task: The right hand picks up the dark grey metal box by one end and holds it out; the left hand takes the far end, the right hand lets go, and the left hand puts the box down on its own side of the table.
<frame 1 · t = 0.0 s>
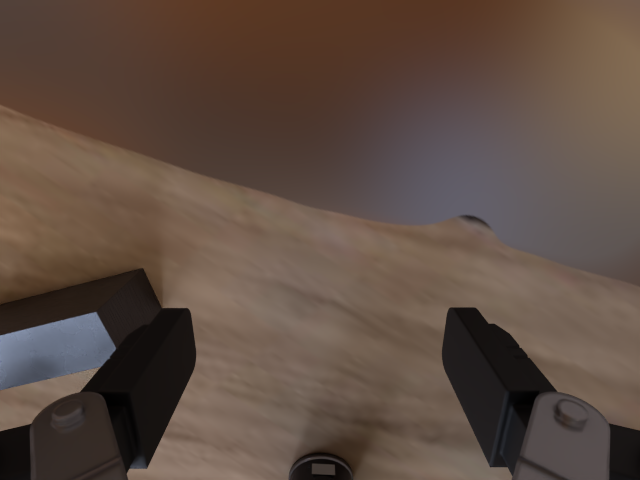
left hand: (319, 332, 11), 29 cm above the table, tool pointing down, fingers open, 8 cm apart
box: (70, 310, 45), on the table
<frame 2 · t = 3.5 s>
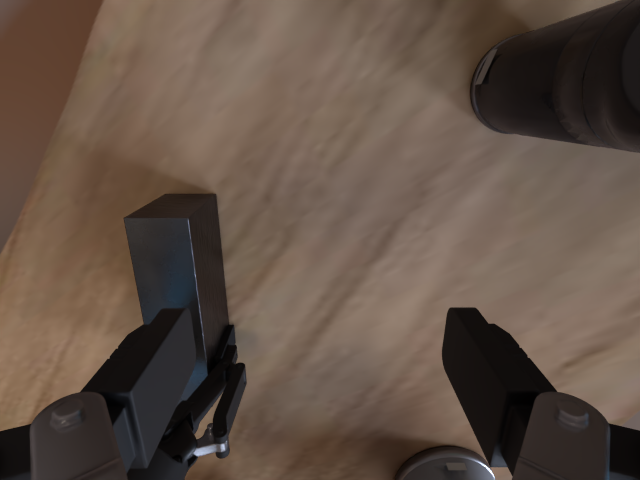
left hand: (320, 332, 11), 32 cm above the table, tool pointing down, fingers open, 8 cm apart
box: (201, 279, 46), on the table, touching right hand
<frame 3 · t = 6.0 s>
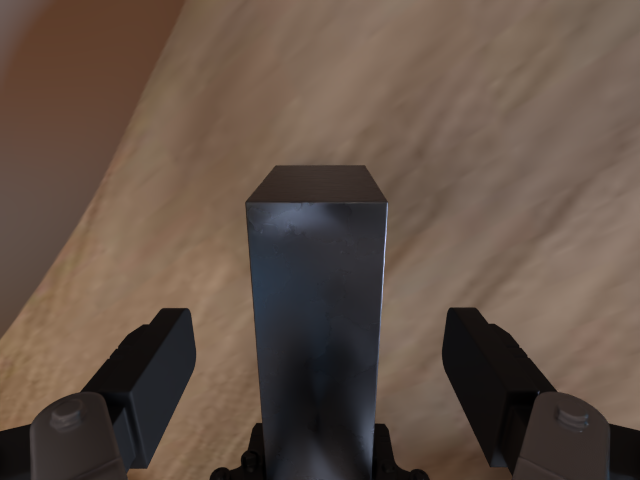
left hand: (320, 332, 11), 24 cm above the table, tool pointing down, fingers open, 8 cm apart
box: (320, 311, 28), point 10 cm above the table, touching right hand
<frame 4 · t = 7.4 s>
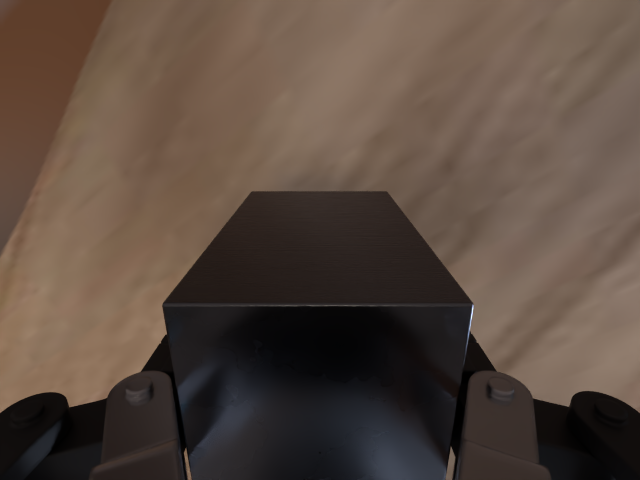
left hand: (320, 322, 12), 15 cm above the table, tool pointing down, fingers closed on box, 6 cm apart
box: (319, 393, 20), point 10 cm above the table, touching left hand, right hand
when the right hand's fingers open (10 cm above the table, at t = 8.5 s): box stays where it is, held by the left hand.
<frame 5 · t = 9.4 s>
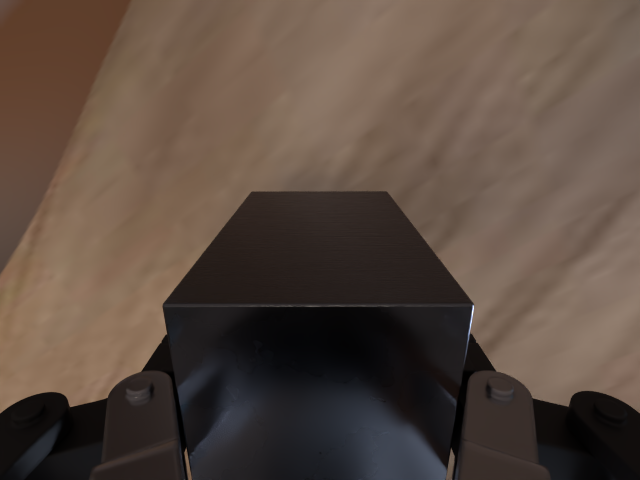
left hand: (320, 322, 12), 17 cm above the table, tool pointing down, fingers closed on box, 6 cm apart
box: (319, 393, 20), point 12 cm above the table, touching left hand
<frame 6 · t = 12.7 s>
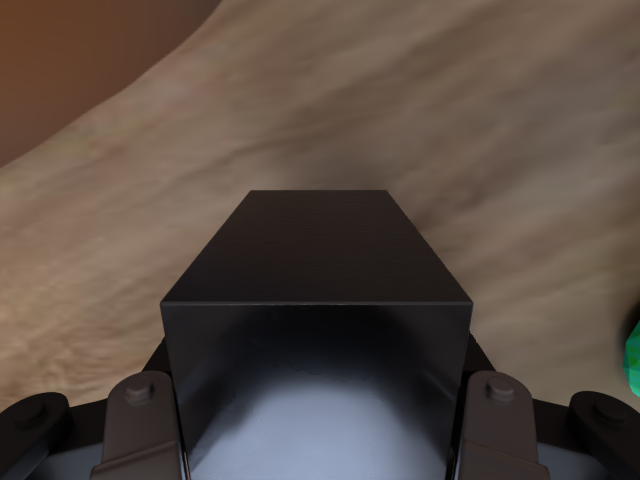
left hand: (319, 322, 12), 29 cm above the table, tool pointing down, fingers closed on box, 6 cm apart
box: (319, 393, 19), point 24 cm above the table, touching left hand
when the left hand's fingers open (6 cm above the table, at t = 17.8 s): box drops 1 cm, on the table.
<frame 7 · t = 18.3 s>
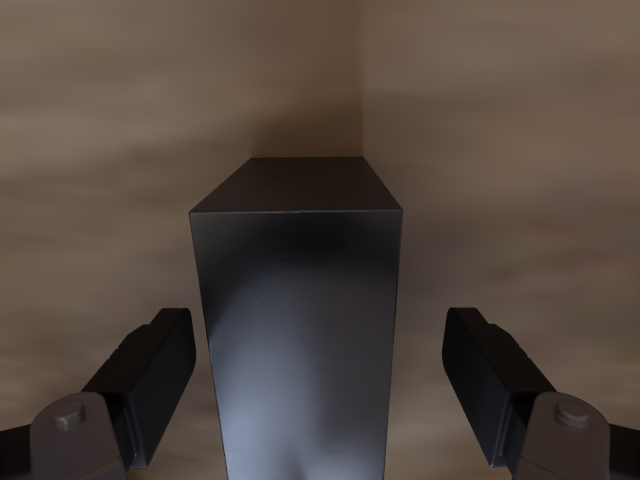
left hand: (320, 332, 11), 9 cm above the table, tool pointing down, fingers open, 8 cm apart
box: (311, 336, 23), on the table
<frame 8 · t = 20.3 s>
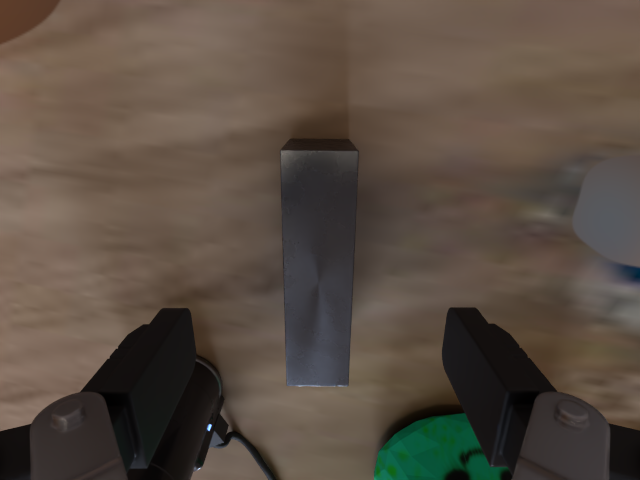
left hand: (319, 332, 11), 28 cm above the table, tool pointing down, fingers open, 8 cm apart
toy 2: (444, 459, 51), on the table
box: (318, 242, 40), on the table
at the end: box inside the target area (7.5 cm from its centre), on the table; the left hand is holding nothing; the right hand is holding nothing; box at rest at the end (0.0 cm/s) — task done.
